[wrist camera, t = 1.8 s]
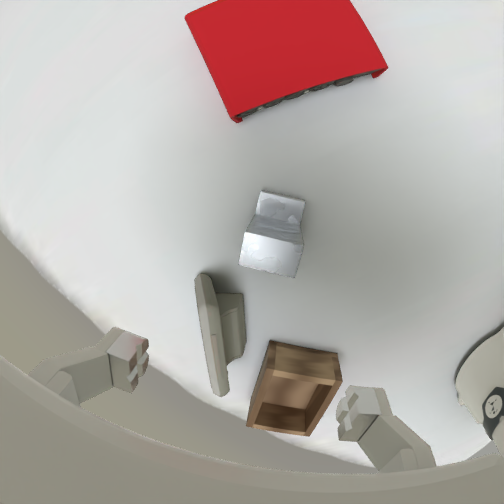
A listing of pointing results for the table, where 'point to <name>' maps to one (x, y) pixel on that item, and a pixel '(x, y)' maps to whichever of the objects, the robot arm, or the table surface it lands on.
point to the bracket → (274, 235)
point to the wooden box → (293, 389)
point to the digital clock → (220, 330)
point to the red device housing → (281, 49)
